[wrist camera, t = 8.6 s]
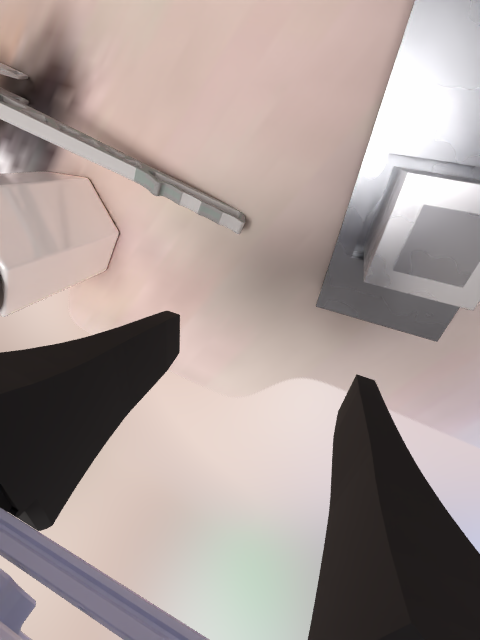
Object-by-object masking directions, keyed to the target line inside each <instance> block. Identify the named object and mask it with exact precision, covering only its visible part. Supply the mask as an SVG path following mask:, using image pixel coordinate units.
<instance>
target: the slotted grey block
mask: <svg viewBox="0 0 480 640" xmlns="http://www.w3.org/2000/svg"><path fill="white" fill-rule="evenodd" d="M364 282H365V283H369V284H373V285H377V286H381V287H385V288H388V289H392V290H396V291H400V292H404V293H408V294H412V295H415V296H419V297H423V298H427V299H431V300H435V301H439V302H442V303H446V304H450V305H454V306H458V307H462V308H466V309H469V310H474V309H475V307H476V306H477V304H478V303H479V301H480V180H477V179H471V178H465V177H458V176H452V175H446V174H440V173H433V172H427V171H421V170H415V169H409V168H402V167H396V166H393V169H392V172H391V174H390V177H389V179H388V182H387V185H386V187H385V190H384V193H383V195H382V198H381V201H380V203H379V206H378V208H377V211H376V214H375V216H374V219H373V222H372V224H371V227H370V229H369V232H368V235H367V237H366V240H365V243H364Z"/></svg>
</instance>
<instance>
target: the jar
mask: <svg viewBox="0 0 480 640" xmlns="http://www.w3.org/2000/svg"><path fill="white" fill-rule="evenodd" d="M118 235H119V232H118V230H117V228H116V226H115V224H114V223H113V221H112V219H111V217H110V215H109V214H108V212H107V210H106V208H105V207H104V205H103V203H102V201H101V200H100V198H99V196H98V194H97V192H96V191H95V189H94V187H93V185H92V184H91V182H90V180H89V179H88V178H86V177H79V176H73V175H66V174H60V173H53V172H47V171H40V172H23V173H6V174H0V316H4V317H5V316H8V315H10V314H12V313H14V312H17V311H19V310H21V309H23V308H25V307H28V306H30V305H32V304H34V303H36V302H39V301H41V300H43V299H45V298H47V297H49V296H52V295H54V294H56V293H58V292H60V291H62V290H65V289H67V288H69V287H71V286H74V285H76V284H78V283H80V282H82V281H85V280H87V279H89V278H91V277H93V276H96V275H98V274H100V273H102V272H104V271H106V269H107V266H108V263H109V261H110V258H111V255H112V252H113V249H114V246H115V243H116V241H117V238H118Z"/></svg>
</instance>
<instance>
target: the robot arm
mask: <svg viewBox="0 0 480 640" xmlns="http://www.w3.org/2000/svg"><path fill="white" fill-rule="evenodd" d="M179 347H180V315H179V314H176V313H173V312H170V311H164V312H161V313H158V314H155V315H152V316H149V317H146V318H143V319H141V320H138V321H135V322H132V323H129V324H126V325H123V326H121V327H118V328H114V329H111V330H108V331H105V332H102V333H98V334H95V335H92V336H88V337H85V338H81V339H77V340H72V341H68V342H64V343H59V344H54V345H48V346H43V347H37V348H32V349H26V350H18V351H11V352H2V353H0V555H1V556H3V557H4V558H6V559H7V560H8V561H10V562H11V563H13V564H14V565H16V566H17V567H19V568H20V569H21V570H23V571H24V572H26V573H27V574H29V575H30V576H32V577H33V578H35V579H36V580H38V581H39V582H41V583H42V584H43V585H45V586H46V587H48V588H49V589H51V590H52V591H54V592H55V593H56V594H58V595H59V596H61V597H62V598H64V599H65V600H67V601H68V602H70V603H71V604H72V605H74V606H75V607H77V608H78V609H80V610H81V611H83V612H84V613H86V614H87V615H89V616H90V617H92V618H93V619H95V620H96V621H97V622H99V623H100V624H102V625H103V626H105V627H106V628H108V629H109V630H110V631H112V632H113V633H115V634H116V635H118V636H119V637H121V638H122V639H124V640H209V639H207V638H206V637H204V636H203V635H201V634H200V633H198V632H196V631H195V630H193V629H192V628H190V627H188V626H186V625H185V624H184V623H182V622H180V621H179V620H177V619H176V618H174V617H173V616H171V615H169V614H168V613H166V612H165V611H163V610H161V609H160V608H158V607H157V606H155V605H154V604H152V603H150V602H149V601H147V600H145V599H144V598H143V597H141V596H139V595H138V594H136V593H135V592H133V591H131V590H130V589H128V588H126V587H125V586H124V585H122V584H120V583H119V582H117V581H116V580H114V579H112V578H111V577H109V576H108V575H106V574H104V573H103V572H101V571H100V570H98V569H97V568H95V567H93V566H92V565H90V564H89V563H87V562H85V561H84V560H82V559H81V558H79V557H77V556H76V555H74V554H73V553H71V552H70V551H68V550H66V549H65V548H63V547H62V546H60V545H59V544H57V543H55V542H54V541H52V540H51V539H49V538H47V537H46V536H44V535H42V534H41V533H40V532H38V531H41V530H44V529H47V528H49V527H50V526H52V525H53V524H54V522H55V520H56V519H57V517H58V515H59V513H60V512H61V510H62V509H63V507H64V505H65V504H66V502H67V501H68V499H69V497H70V496H71V494H72V492H73V491H74V489H75V488H76V486H77V484H78V483H79V482H80V480H81V479H82V477H83V476H84V474H85V472H86V471H87V470H88V468H89V466H90V465H91V463H92V462H93V461H94V459H95V458H96V456H97V455H98V453H99V452H100V451H101V449H102V448H103V446H104V445H105V444H106V442H107V441H108V439H109V438H110V436H111V435H112V434H113V433H114V431H115V430H116V429H117V427H118V426H119V425H120V423H121V422H122V420H123V419H124V418H125V417H126V416H127V414H128V413H129V412H130V411H131V409H133V408H134V406H135V405H136V404H137V403H138V402H139V401H140V400H141V399H142V398H143V397H144V395H145V394H146V393H147V392H148V391H149V390H150V389H151V388H152V387H153V386H154V385H155V384H156V382H157V381H158V380H159V379H160V378H161V377H162V376H163V375H164V374H165V372H166V371H167V370H168V369H169V367H170V366H171V364H172V363H173V361H174V360H175V358H176V357H177V355H178V354H179ZM8 512H9V513H11V514H12V515H11V514H9V513H8ZM13 515H14V516H15V517H14V516H13ZM16 517H17V518H19V519H20V520H19V519H17V518H16ZM21 520H22V521H23V522H22V521H21ZM24 522H25V523H27V524H28V525H30V526H31V527H30V526H28V525H27V524H25V523H24ZM32 527H33V528H34V529H33V528H32ZM35 529H36V530H38V531H36V530H35ZM35 605H36V601H35V600H34V599H33V598H32V597H30V596H29V595H28V594H27V593H26V592H25V591H24V590H23V589H22V588H20V587H19V586H18V585H17V584H16V583H15V582H14V580H13V579H12V578H11V577H10V576H9V575H8V574H7V573H5V572H4V571H3V570H2V569H0V640H32V639H31V638H29V637H28V636H26V635H25V634H24V633H22V632H21V631H20V629H21V626H22V624H23V623H24V621H25V620H26V618H27V617H28V616H29V614H30V613H31V612H32V610H33V609H34V607H35ZM308 640H480V554H479V553H478V551H477V550H476V549H475V547H474V546H473V545H472V544H471V542H470V541H469V540H468V538H467V537H466V536H465V534H464V533H463V532H462V530H461V529H460V528H459V526H458V525H457V524H456V522H455V521H454V520H453V519H452V517H451V516H450V514H449V513H448V511H447V510H446V509H445V507H444V506H443V504H442V503H441V501H440V500H439V498H438V497H437V496H436V494H435V492H434V491H433V489H432V488H431V486H430V485H429V484H428V482H427V480H426V479H425V477H424V476H423V474H422V473H421V471H420V469H419V468H418V466H417V464H416V463H415V461H414V459H413V458H412V456H411V454H410V452H409V450H408V449H407V447H406V445H405V443H404V441H403V440H402V437H401V436H400V434H399V432H398V430H397V428H396V426H395V424H394V422H393V420H392V418H391V415H390V413H389V411H388V409H387V407H386V405H385V402H384V400H383V398H382V396H381V393H380V391H379V389H378V387H377V384H376V382H375V381H374V380H372V379H369V378H366V377H363V376H360V375H356V377H355V379H354V381H353V383H352V385H351V387H350V389H349V391H348V393H347V395H346V397H345V399H344V401H343V403H342V405H341V407H340V409H339V411H338V415H337V421H336V426H335V432H334V439H333V456H332V477H331V498H330V509H329V517H328V525H327V531H326V538H325V544H324V551H323V557H322V563H321V569H320V576H319V581H318V587H317V592H316V598H315V604H314V609H313V615H312V621H311V626H310V631H309V636H308Z"/></svg>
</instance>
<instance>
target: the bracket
mask: <svg viewBox="0 0 480 640" xmlns="http://www.w3.org/2000/svg"><path fill="white" fill-rule="evenodd" d="M14 73H15V74H14ZM0 74H2V75H5V76H9V77H12V78H16V79H28V76H27V75H25V74H24V73H22V72H20V71H18V70H15V69H13V68H11V67H9V66H7V65H5V64H2V63H0ZM16 99H19V100H20V101H18V100H16ZM25 104H29V101H28V100H26V99H25V98H23V97H20V96H18V95H16V94H13V93H11V92H9V91H7V90H4V89H2V88H0V119H2V120H4V121H6V122H8V123H10V124H12V125H14V126H17V127H19V128H21V129H23V130H25V131H27V132H29V133H32V134H34V135H36V136H38V137H40V138H42V139H44V140H47V141H49V142H51V143H53V144H55V145H57V146H59V147H62V148H64V149H66V150H68V151H70V152H72V153H74V154H77V155H79V156H81V157H83V158H85V159H87V160H89V161H92V162H94V163H96V164H98V165H100V166H102V167H104V168H107V169H109V170H111V171H113V172H115V173H117V174H119V175H122V176H124V177H126V178H128V179H130V180H132V181H134V182H136V183H138V184H140V185H142V186H143V187H145V188H146V189H148V190H149V191H150V192H151V193H152V194H153V195H155V196H164V197H166V198H168V199H170V200H172V201H174V202H175V203H177V204H178V205H181V206H183V207H186V208H188V209H190V210H192V211H194V212H195V213H197V214H198V215H201V216H204V217H206V218H208V219H210V220H212V221H214V222H215V223H217V224H219V225H222V226H225V227H227V228H229V229H231V230H232V231H234V232H235V233H236V234H240V233H241V230H242V228H243V226H244V224H245V216H244V214H243V213H242V212H240V211H238V210H237V209H235V208H233V207H231V206H229V205H227V204H225V203H223V202H221V201H219V200H217V199H215V198H213V197H211V196H209V195H207V194H205V193H203V192H201V191H199V190H197V189H195V188H193V187H191V186H189V185H187V184H185V183H183V182H181V181H179V180H177V179H175V178H173V177H171V176H169V175H167V174H165V173H163V172H160V171H158V170H156V169H154V168H152V167H150V166H148V165H146V164H144V163H142V162H140V161H138V160H136V159H134V158H132V157H130V156H128V155H126V154H124V153H122V152H120V151H118V150H116V149H114V148H112V147H110V146H108V145H106V144H104V143H102V142H100V141H98V140H96V139H94V138H92V137H90V136H88V135H86V134H84V133H81V132H79V131H77V130H75V129H73V128H71V127H69V126H67V125H65V124H63V123H61V122H59V121H57V120H55V119H53V118H51V117H49V116H47V115H45V114H43V113H41V112H39V111H37V110H35V109H33V108H31V107H29V106H27V105H25Z"/></svg>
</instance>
